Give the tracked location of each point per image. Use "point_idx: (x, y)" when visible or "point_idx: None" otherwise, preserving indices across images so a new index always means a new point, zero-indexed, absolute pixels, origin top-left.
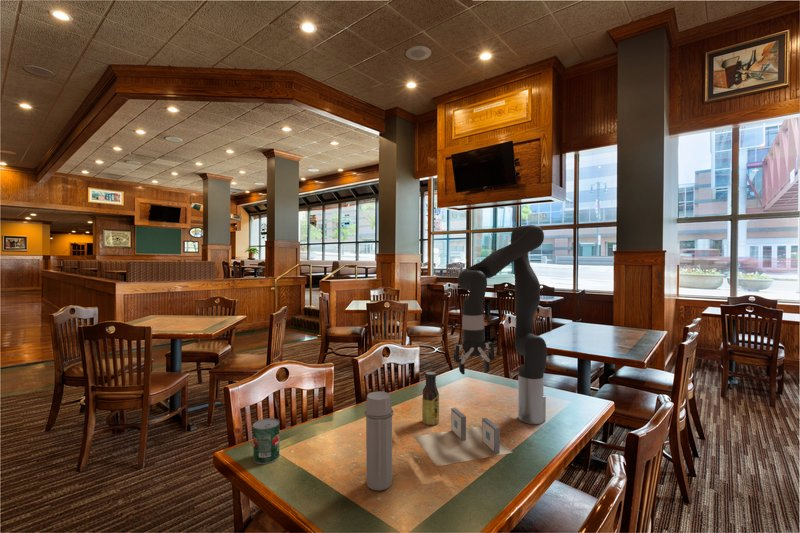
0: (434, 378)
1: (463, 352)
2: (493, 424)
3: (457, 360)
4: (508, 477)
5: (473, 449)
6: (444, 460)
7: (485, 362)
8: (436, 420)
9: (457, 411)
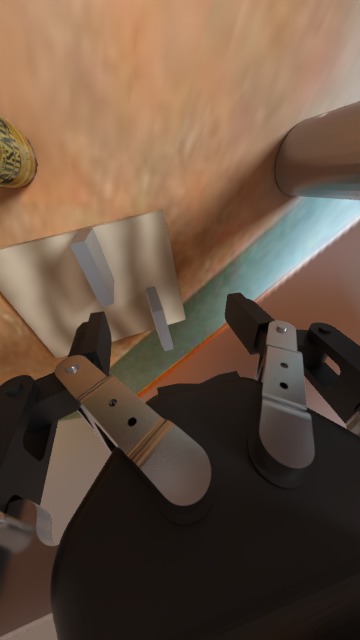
0: None
1: (98, 425)
2: (167, 337)
3: (44, 428)
4: (158, 355)
5: (124, 313)
6: (68, 344)
7: (251, 346)
8: (24, 182)
9: (91, 271)
